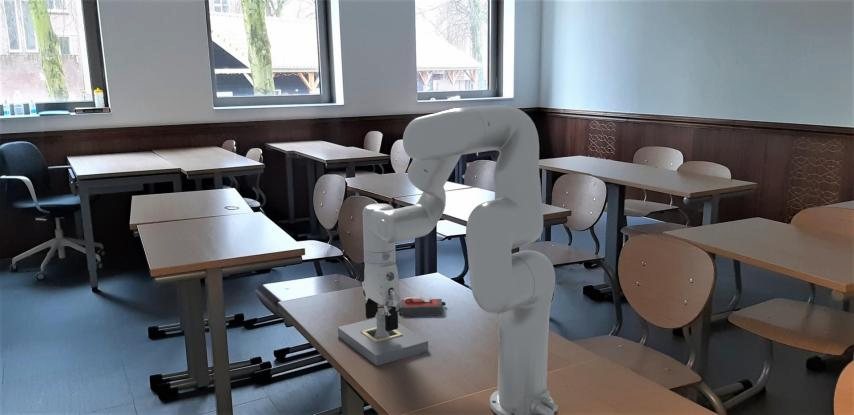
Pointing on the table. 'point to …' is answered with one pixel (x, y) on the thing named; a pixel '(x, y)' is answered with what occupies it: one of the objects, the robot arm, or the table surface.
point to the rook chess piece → (380, 326)
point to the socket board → (382, 342)
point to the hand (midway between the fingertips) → (381, 323)
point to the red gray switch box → (420, 306)
